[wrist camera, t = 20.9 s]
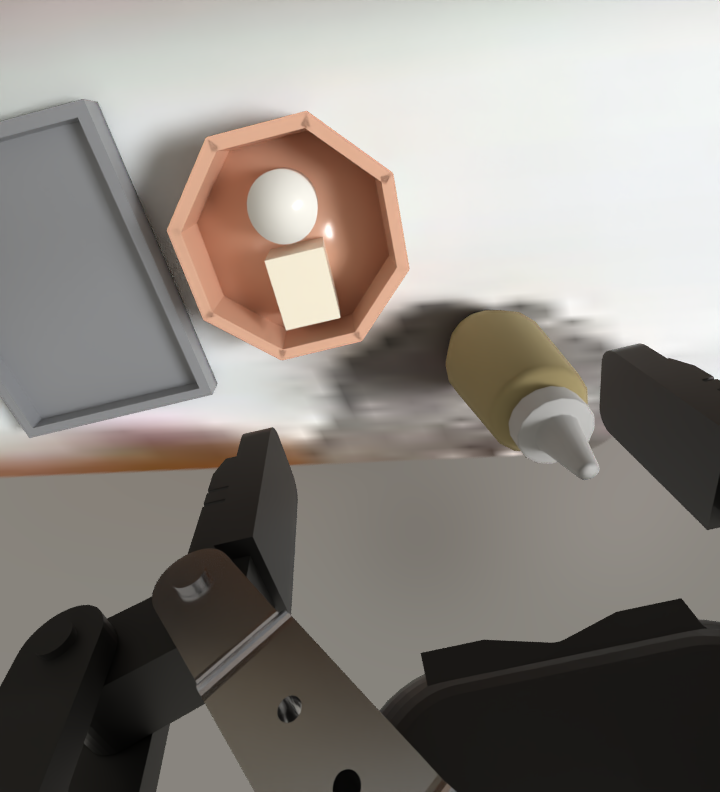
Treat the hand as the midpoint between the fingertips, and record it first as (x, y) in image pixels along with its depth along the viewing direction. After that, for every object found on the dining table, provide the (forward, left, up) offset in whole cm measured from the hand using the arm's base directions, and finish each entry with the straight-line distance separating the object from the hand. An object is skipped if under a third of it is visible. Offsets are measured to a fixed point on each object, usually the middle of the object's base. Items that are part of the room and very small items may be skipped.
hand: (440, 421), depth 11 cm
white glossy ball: (-4, -5, -26) cm, 27 cm away
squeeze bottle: (+11, +8, -27) cm, 30 cm away
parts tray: (-2, -23, -27) cm, 35 cm away
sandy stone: (+2, -5, -26) cm, 26 cm away
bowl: (-1, -5, -27) cm, 27 cm away
